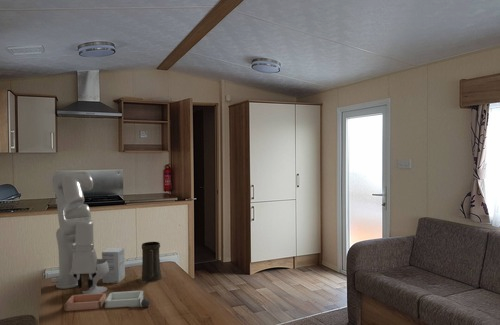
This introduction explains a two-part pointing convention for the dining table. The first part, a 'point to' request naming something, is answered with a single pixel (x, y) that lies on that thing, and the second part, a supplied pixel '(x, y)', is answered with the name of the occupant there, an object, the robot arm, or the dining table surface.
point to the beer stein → (150, 261)
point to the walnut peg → (84, 282)
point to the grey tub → (124, 299)
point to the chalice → (104, 270)
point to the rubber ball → (145, 302)
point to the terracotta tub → (85, 301)
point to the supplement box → (114, 265)
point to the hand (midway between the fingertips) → (85, 287)
